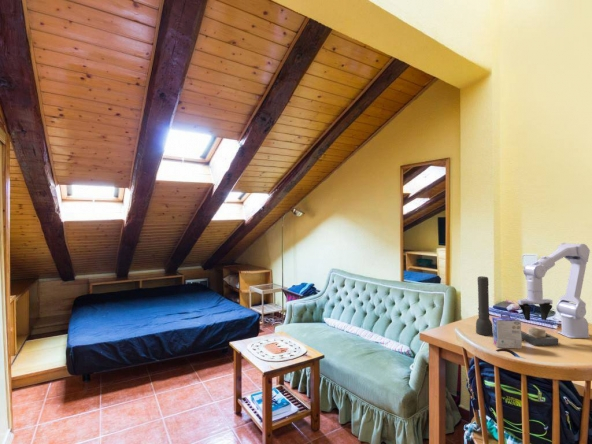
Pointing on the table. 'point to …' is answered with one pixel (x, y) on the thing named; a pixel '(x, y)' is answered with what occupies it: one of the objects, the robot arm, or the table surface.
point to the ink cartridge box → (507, 332)
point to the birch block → (537, 332)
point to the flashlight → (483, 308)
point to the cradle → (540, 340)
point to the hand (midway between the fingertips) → (535, 319)
